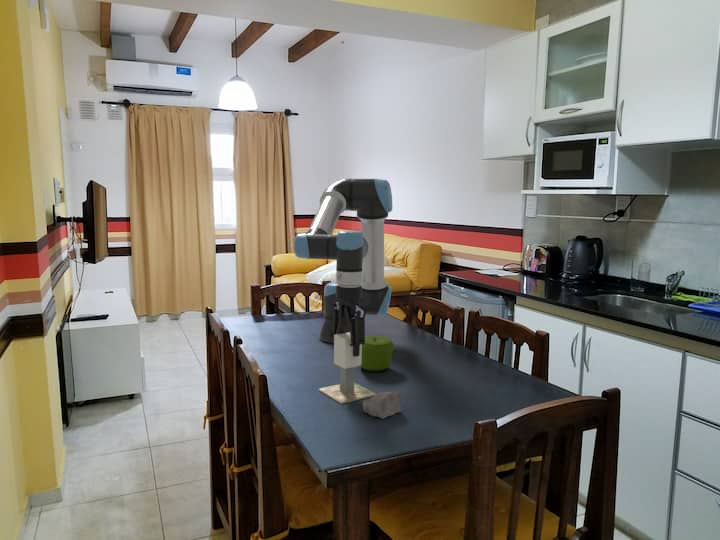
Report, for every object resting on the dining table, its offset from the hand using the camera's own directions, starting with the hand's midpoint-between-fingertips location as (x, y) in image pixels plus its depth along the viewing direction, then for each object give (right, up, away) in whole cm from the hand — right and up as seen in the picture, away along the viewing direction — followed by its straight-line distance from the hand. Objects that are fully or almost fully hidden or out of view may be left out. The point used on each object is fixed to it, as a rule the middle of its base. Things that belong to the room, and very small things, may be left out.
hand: (347, 363), depth 155 cm
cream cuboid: (0, 0, 0) cm, 0 cm away
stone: (+10, -12, -12) cm, 19 cm away
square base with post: (0, -9, +1) cm, 9 cm away
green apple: (+8, -6, +23) cm, 26 cm away
